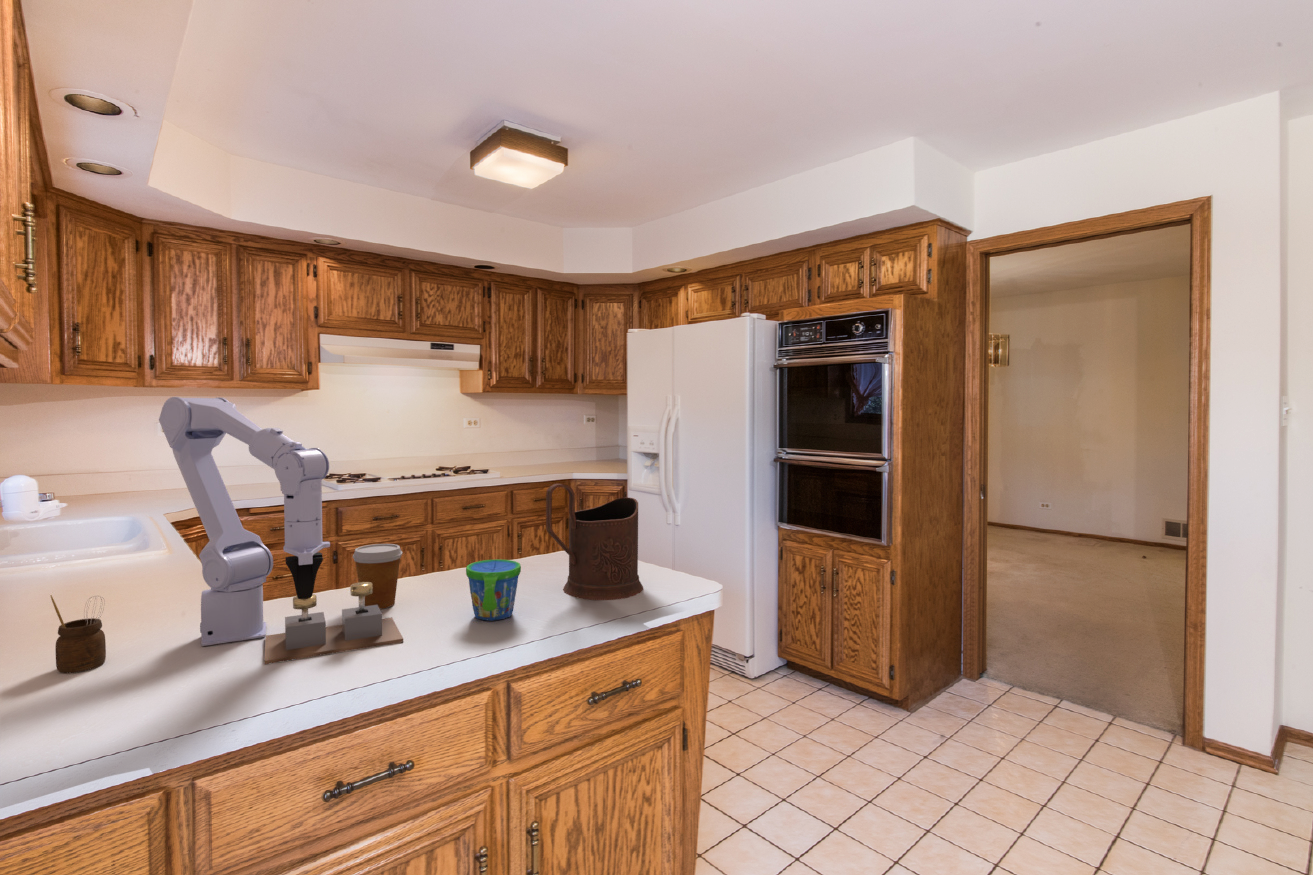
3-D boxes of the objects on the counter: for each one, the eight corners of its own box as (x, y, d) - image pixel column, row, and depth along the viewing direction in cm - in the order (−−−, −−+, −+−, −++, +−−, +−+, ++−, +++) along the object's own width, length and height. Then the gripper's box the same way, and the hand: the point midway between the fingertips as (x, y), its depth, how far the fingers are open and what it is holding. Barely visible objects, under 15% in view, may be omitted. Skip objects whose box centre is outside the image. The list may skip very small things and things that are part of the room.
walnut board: (264, 664, 105) (264, 660, 105) (265, 638, 116) (265, 635, 116) (403, 641, 115) (403, 638, 115) (392, 620, 126) (392, 617, 126)
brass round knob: (351, 619, 115) (351, 588, 115) (349, 613, 118) (349, 583, 118) (373, 616, 117) (373, 585, 117) (371, 610, 120) (371, 581, 120)
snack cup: (513, 629, 122) (513, 575, 122) (456, 629, 122) (456, 575, 121) (526, 603, 138) (526, 556, 137) (476, 603, 138) (476, 556, 137)
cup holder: (660, 590, 149) (661, 481, 148) (570, 610, 134) (571, 489, 132) (612, 573, 163) (612, 474, 162) (526, 590, 148) (526, 480, 147)
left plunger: (293, 633, 111) (293, 601, 110) (293, 626, 114) (292, 595, 114) (317, 629, 113) (317, 598, 112) (316, 623, 116) (315, 592, 115)
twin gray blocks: (285, 650, 109) (285, 627, 109) (285, 638, 114) (284, 616, 114) (382, 635, 117) (381, 613, 117) (377, 625, 122) (377, 604, 122)
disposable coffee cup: (385, 613, 130) (384, 554, 130) (342, 610, 132) (342, 551, 132) (412, 600, 140) (411, 544, 139) (372, 597, 142) (371, 542, 141)
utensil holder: (108, 667, 103) (106, 592, 102) (54, 678, 99) (51, 600, 98) (104, 656, 107) (102, 584, 107) (52, 667, 103) (49, 591, 102)
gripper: (332, 524, 108) (333, 605, 109) (326, 511, 121) (327, 584, 121) (283, 527, 104) (285, 611, 105) (282, 514, 117) (284, 589, 118)
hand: (304, 597), depth 113 cm, fingers closed, pressing on left plunger
